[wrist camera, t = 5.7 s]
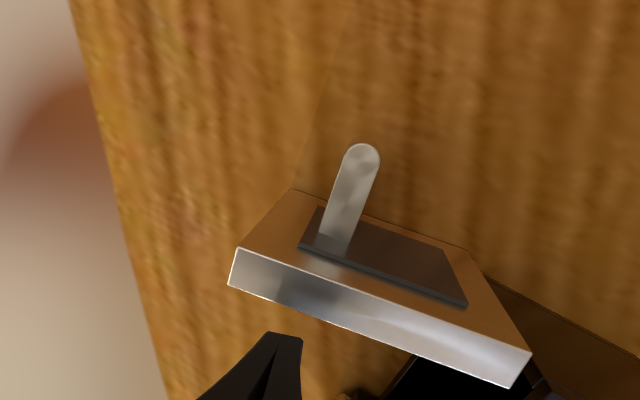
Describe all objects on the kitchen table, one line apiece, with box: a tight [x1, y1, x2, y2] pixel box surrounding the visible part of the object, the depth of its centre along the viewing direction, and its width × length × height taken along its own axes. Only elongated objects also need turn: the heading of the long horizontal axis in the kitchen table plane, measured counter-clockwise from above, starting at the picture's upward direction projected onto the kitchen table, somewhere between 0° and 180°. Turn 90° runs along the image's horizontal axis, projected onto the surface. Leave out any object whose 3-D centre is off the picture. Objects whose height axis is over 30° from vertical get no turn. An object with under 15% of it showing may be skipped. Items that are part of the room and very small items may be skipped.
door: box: [228, 137, 532, 389], centre depth 14 cm, size 6×10×8 cm, turn 72°
